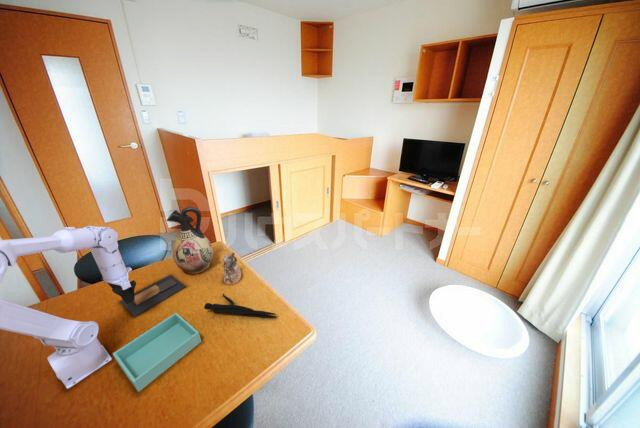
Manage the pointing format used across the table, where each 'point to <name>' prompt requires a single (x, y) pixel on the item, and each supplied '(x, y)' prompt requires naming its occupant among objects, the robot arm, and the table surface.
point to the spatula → (154, 291)
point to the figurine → (231, 269)
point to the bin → (156, 350)
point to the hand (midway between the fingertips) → (125, 296)
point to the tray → (153, 297)
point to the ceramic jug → (191, 243)
